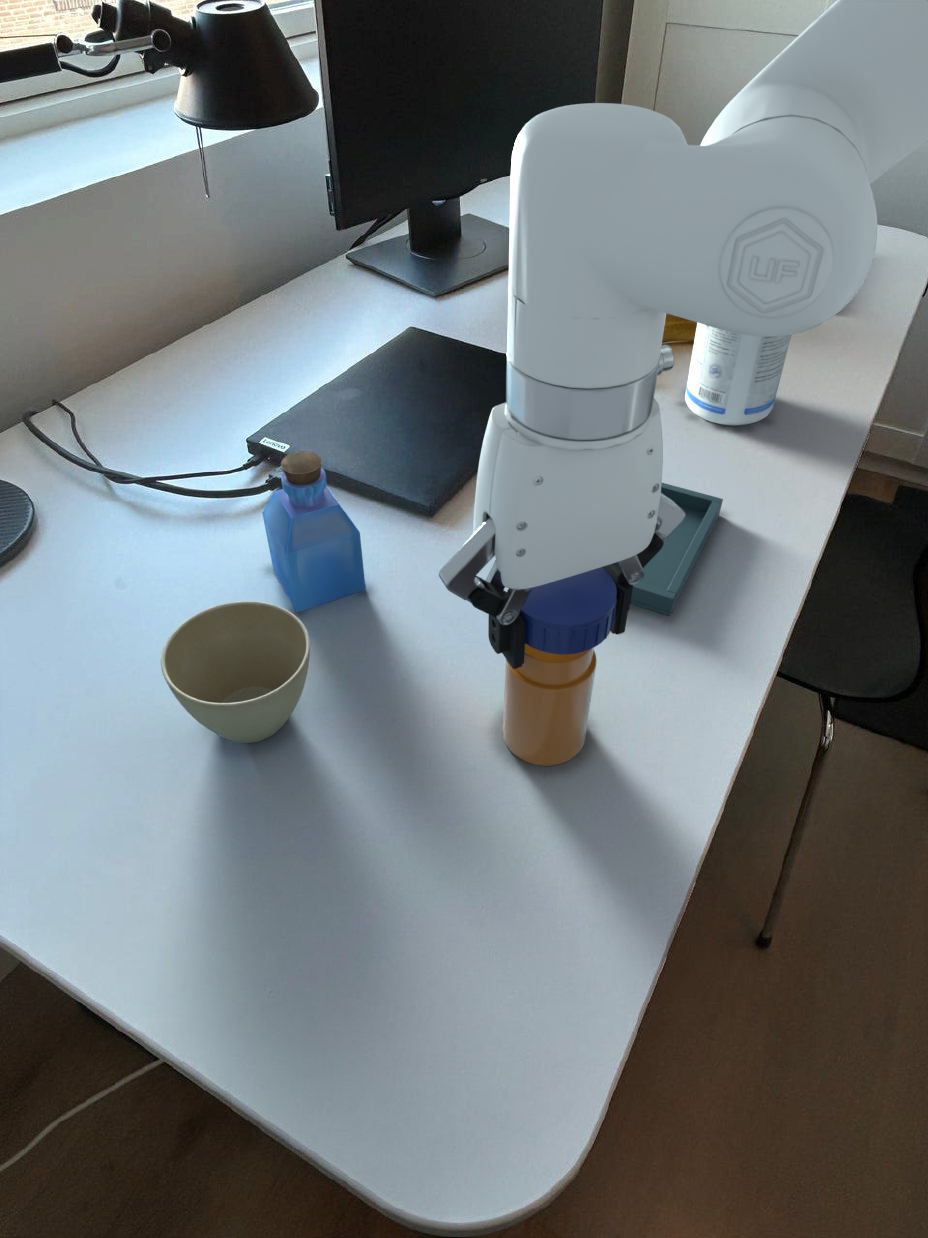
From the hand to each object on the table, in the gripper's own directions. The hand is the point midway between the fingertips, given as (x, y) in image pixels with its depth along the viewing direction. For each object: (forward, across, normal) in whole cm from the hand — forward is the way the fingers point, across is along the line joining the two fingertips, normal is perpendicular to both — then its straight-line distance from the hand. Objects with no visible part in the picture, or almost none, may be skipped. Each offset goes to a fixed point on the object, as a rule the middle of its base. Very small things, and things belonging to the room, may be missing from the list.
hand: (558, 635), depth 57 cm
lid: (-4, 0, 0) cm, 4 cm away
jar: (+10, 0, 0) cm, 10 cm away
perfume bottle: (+10, +10, -23) cm, 27 cm away
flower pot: (+10, +19, -10) cm, 24 cm away
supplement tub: (+10, -40, -33) cm, 53 cm away
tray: (+10, -17, -17) cm, 26 cm away
